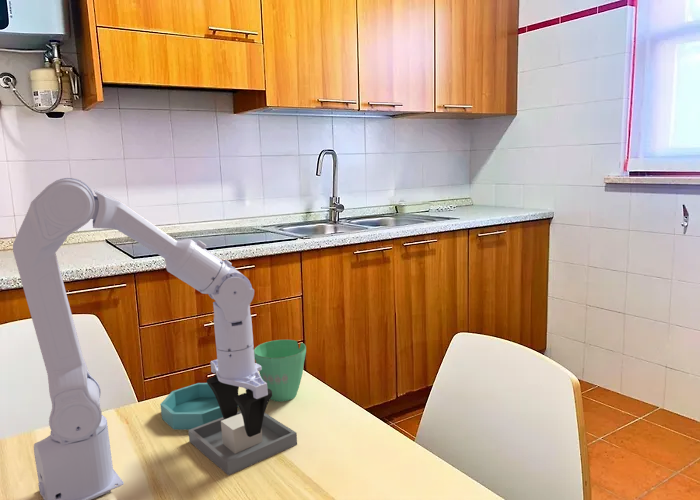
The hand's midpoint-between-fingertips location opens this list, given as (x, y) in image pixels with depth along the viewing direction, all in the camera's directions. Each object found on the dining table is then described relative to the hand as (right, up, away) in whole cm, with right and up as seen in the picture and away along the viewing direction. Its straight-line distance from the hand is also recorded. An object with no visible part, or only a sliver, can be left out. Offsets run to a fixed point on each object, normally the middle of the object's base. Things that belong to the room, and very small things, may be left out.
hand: (241, 425), depth 88 cm
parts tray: (0, -3, +1) cm, 4 cm away
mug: (+2, 0, +18) cm, 18 cm away
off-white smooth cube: (0, -3, +1) cm, 3 cm away
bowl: (-10, -2, +12) cm, 15 cm away
